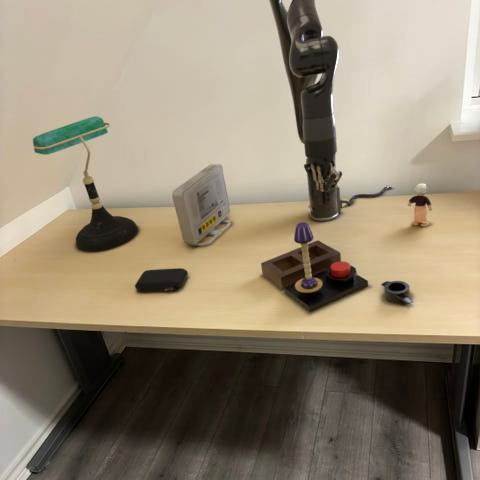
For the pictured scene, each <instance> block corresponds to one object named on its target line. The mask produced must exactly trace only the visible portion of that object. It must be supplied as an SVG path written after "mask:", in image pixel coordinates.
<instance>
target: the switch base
mask: <svg viewBox="0 0 480 480" xmlns="http://www.w3.org/2000/svg"><path fill="white" fill-rule="evenodd" d="M357 273H358V272H357V269H356V267H355V266H353V265H351V264H350V274H349V275H348V276H345V277H334V276H332V275H331V267H329V268H328V269H327V270H325V271H322V272H320V273H318V274H315V275H313V276H312V277H314V278H318V279H320V280H321V281H322V283H323V285H322V287H321V288H320V289H319V290H317V291H315V292H310V293H303V292H299V291H298V290H296V288H295V284H296V283H294V284H292V285H290V286H287V287H285V288H284V290H283V292H284V294H285V295H286V296H288V297H289V298H290V299H291V300H293V302H296V303H297V304H298V305H299V306H301V307H302V308H304V309H305V310H306V311H307V312H308V313H313V312H314V311H317V310H319V309H321V308H323V307H326V306H327V305H330V304H332V303H334V302H337V301H339V300H341V299H343V298H345V297H347V296H350V295H352V294H354V293H357V292H359V291H361V290H363V289H365V288H368V287H369V281H368V280H367V279H365V278H364V277H362V276H360V275H359V274H357Z"/></svg>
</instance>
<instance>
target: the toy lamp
mask: <svg viewBox="0 0 480 480" xmlns="http://www.w3.org/2000/svg"><path fill="white" fill-rule="evenodd" d="M314 238H315V237H314V234H313V232H312V229H311V227H310V224H309V223H308V222H306V221H301V222H298V223H296V224H295V229H294V237H293V240H294V243H296V244H298V245H299V244H300V247H301V250H302V256H303V262H304V268H305V269H304V271H305V277H306V278H304V279H303V280H302V282H301V287H302V288H304V289H312V288H314V287H316V286H317V285H318V282H317V280H316V279H315V278H313V277H312V274H311V268H310V267H311V264H310V258H309V252H308V246H307V245H308V244H310V243H312V242H313V240H314Z"/></svg>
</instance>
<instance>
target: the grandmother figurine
mask: <svg viewBox="0 0 480 480" xmlns="http://www.w3.org/2000/svg"><path fill="white" fill-rule="evenodd" d="M427 189H428V187H427V185H426V183H419V184H417V185H416V186H415V188H414V193H415V194H416V195H414V196H412V197H411V198H409V199H408V203H407V207H411V206H412V204H414V209H413V210H414V212H413V217H414V218H413V220H414V222H413V226H419V225H420V227H423V228H424V227H427V226H430V222H429V221H428V217H427V214H428V212H427V211H429V212H430V211H431V212H432V211H433V206H432V202H431V201H430V199H429V197H428V196H426V193H427ZM427 208H428V209H427Z"/></svg>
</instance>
